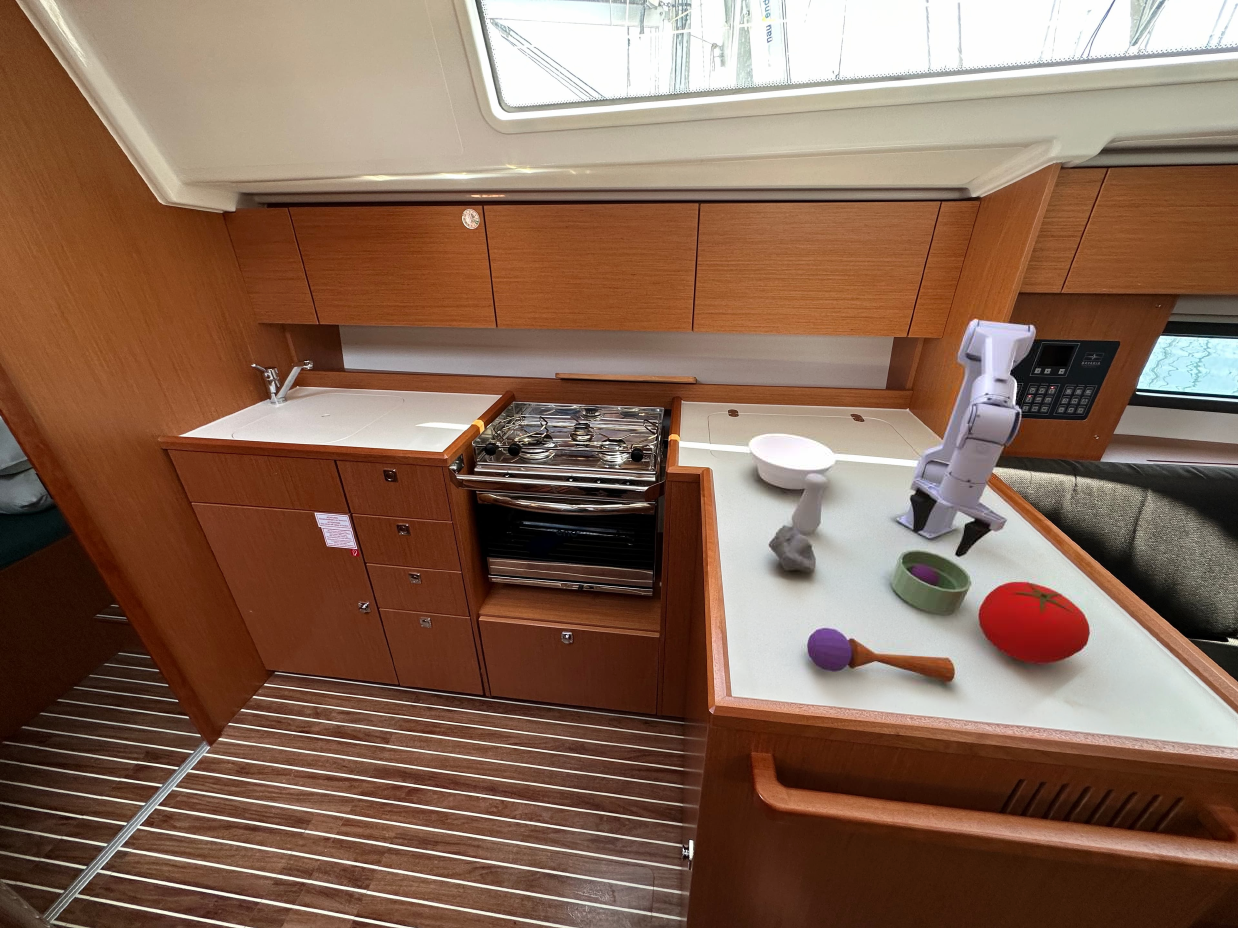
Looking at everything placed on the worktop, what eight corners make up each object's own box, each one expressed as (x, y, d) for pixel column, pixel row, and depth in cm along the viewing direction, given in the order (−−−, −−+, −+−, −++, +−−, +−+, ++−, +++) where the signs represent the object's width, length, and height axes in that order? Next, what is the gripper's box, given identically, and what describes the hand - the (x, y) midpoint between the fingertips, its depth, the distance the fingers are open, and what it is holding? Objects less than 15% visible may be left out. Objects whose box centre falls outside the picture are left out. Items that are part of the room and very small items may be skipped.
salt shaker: (819, 538, 99) (835, 485, 93) (791, 534, 100) (804, 481, 94) (815, 523, 104) (829, 471, 98) (788, 519, 105) (800, 468, 99)
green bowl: (914, 567, 92) (923, 544, 89) (972, 604, 83) (985, 580, 80) (876, 582, 87) (885, 559, 85) (934, 623, 78) (946, 599, 76)
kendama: (967, 679, 64) (819, 653, 65) (944, 699, 68) (805, 675, 69) (949, 640, 69) (811, 616, 70) (928, 661, 72) (798, 638, 73)
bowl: (818, 509, 109) (827, 478, 106) (732, 483, 119) (737, 454, 115) (834, 474, 125) (842, 446, 122) (757, 453, 135) (762, 427, 131)
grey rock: (815, 589, 85) (825, 554, 81) (763, 578, 87) (771, 543, 83) (812, 553, 94) (821, 520, 91) (766, 544, 97) (773, 511, 93)
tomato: (950, 625, 78) (976, 574, 73) (1009, 612, 82) (1037, 561, 76) (1022, 686, 68) (1058, 631, 63) (1086, 667, 71) (1124, 614, 66)
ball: (919, 586, 88) (917, 562, 88) (944, 590, 84) (942, 565, 84) (905, 589, 86) (903, 565, 86) (930, 593, 82) (927, 568, 82)
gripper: (910, 460, 81) (886, 525, 87) (1001, 502, 70) (966, 573, 76) (935, 454, 84) (911, 517, 90) (1026, 492, 73) (991, 561, 79)
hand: (938, 542), depth 83 cm, fingers open, 7 cm apart
